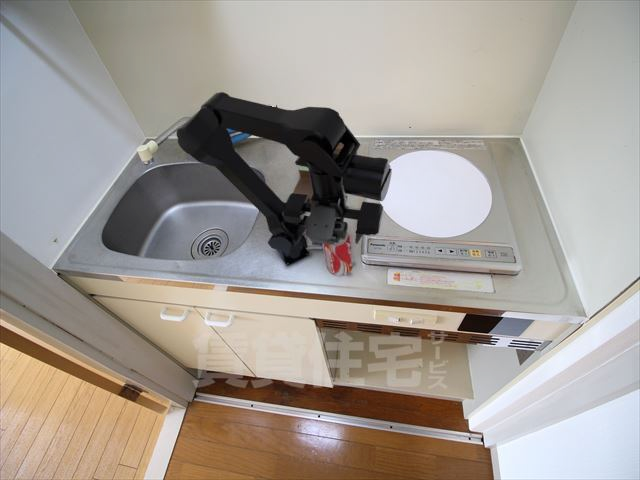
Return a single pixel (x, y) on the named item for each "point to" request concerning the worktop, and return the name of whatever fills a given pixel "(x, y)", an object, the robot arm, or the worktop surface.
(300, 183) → the step shelf
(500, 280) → the worktop surface
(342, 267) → the beverage can
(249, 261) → the worktop surface
